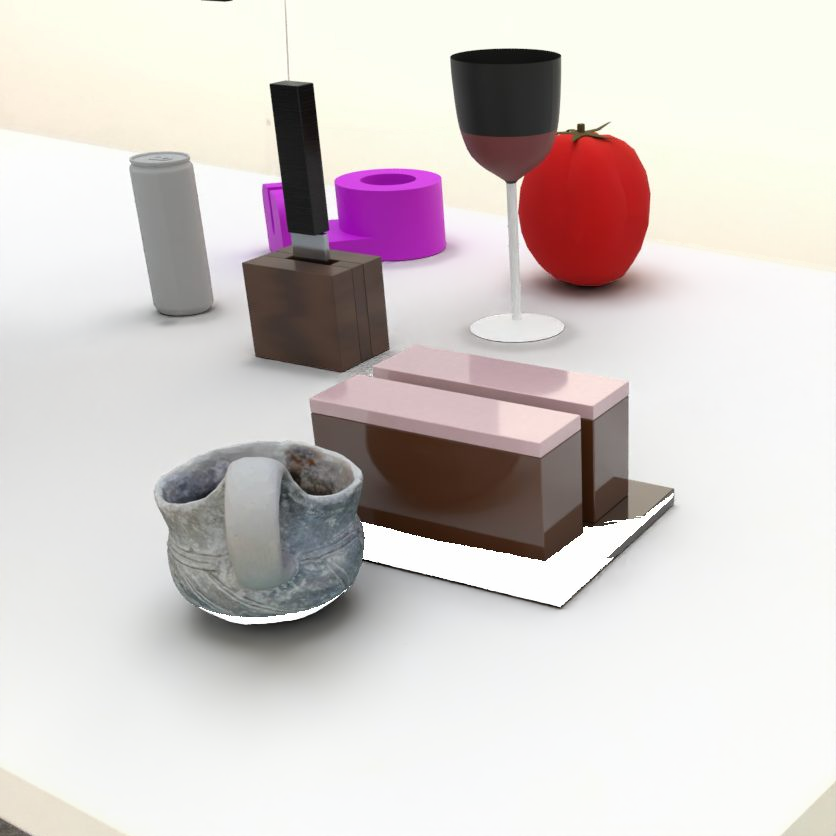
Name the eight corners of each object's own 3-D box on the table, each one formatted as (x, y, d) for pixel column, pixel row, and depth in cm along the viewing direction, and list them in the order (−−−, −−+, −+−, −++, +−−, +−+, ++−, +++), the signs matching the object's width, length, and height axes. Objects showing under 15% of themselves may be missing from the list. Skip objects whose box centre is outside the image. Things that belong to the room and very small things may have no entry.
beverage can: (178, 297, 113) (153, 149, 107) (227, 303, 111) (204, 153, 105) (142, 313, 109) (113, 160, 103) (192, 319, 107) (166, 164, 101)
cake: (273, 538, 73) (253, 404, 69) (415, 450, 84) (405, 330, 80) (560, 608, 67) (556, 465, 63) (674, 503, 78) (677, 375, 74)
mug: (352, 549, 72) (332, 372, 67) (412, 660, 62) (394, 462, 57) (168, 581, 69) (131, 397, 64) (200, 704, 59) (161, 498, 54)
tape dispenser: (429, 230, 133) (425, 165, 130) (458, 254, 125) (454, 185, 122) (267, 246, 127) (258, 178, 124) (287, 272, 120) (278, 200, 117)
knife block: (255, 356, 100) (241, 262, 96) (305, 334, 104) (293, 243, 101) (342, 372, 97) (331, 276, 93) (389, 348, 102) (381, 256, 98)
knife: (299, 353, 101) (265, 83, 91) (314, 346, 102) (282, 79, 92) (332, 358, 99) (300, 86, 90) (346, 352, 101) (317, 82, 91)
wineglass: (453, 340, 103) (434, 62, 93) (484, 308, 111) (470, 47, 100) (552, 347, 102) (545, 65, 92) (577, 314, 109) (573, 50, 99)
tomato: (530, 305, 111) (524, 139, 105) (513, 266, 122) (507, 113, 115) (665, 298, 113) (668, 135, 107) (637, 261, 124) (638, 110, 117)
